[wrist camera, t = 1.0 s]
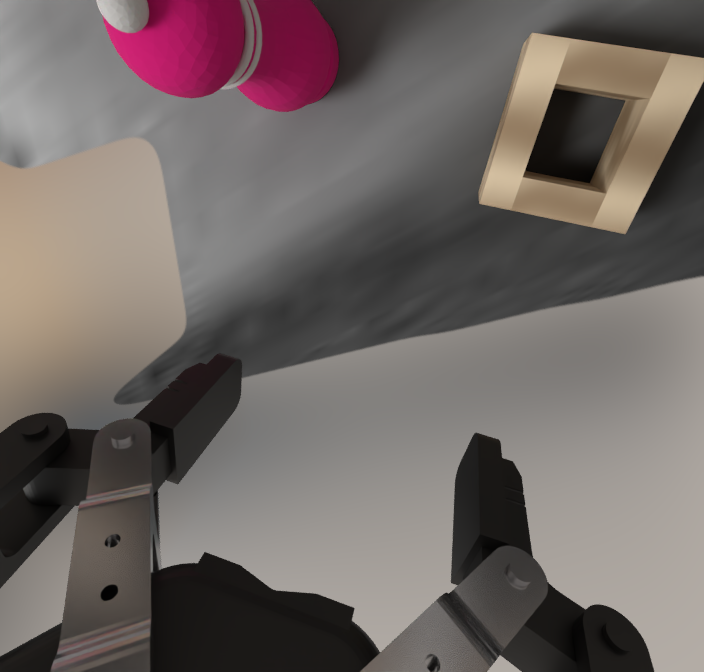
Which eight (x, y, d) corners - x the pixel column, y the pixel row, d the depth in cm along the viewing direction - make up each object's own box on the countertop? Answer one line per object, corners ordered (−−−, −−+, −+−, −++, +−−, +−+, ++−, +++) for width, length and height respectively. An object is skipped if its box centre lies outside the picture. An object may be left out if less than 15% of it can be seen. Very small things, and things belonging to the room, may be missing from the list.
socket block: (523, 43, 28) (532, 32, 24) (679, 67, 26) (714, 59, 23) (478, 192, 33) (479, 203, 29) (606, 219, 32) (625, 234, 28)
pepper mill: (356, 15, 29) (202, -115, 12) (333, 123, 33) (190, 136, 16) (265, -13, 30) (-2, -175, 13) (252, 96, 34) (33, 82, 17)
